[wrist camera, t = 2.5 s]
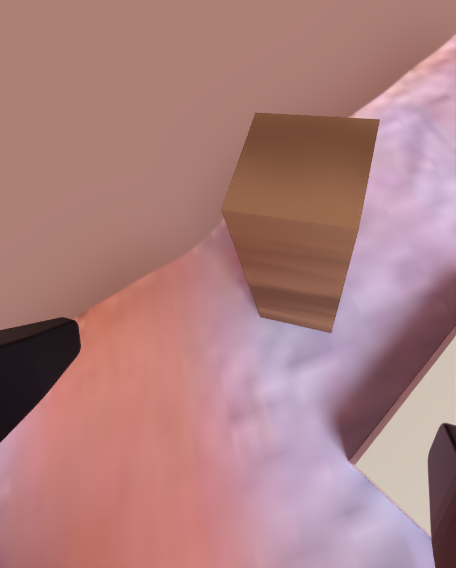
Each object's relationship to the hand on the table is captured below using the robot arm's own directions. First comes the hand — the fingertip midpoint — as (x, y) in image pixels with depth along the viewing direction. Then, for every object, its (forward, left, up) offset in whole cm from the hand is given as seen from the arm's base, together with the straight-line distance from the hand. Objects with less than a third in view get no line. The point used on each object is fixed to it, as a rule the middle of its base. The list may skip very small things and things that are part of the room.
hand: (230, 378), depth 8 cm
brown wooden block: (+7, +3, -13) cm, 15 cm away
